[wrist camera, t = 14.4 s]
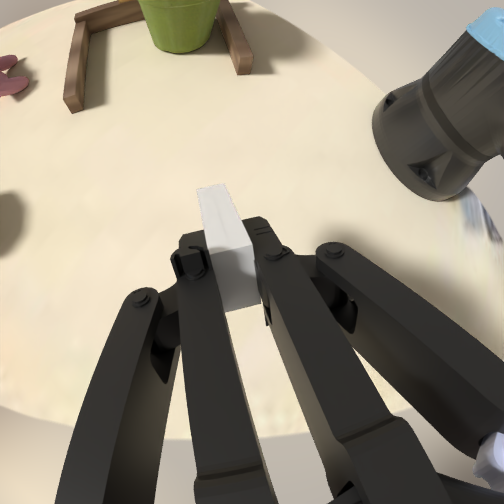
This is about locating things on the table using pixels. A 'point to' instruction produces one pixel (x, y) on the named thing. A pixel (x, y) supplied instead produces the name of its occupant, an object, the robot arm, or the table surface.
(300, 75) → the table surface
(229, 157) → the table surface
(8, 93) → the video game controller
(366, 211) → the table surface
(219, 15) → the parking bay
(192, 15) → the plant pot
